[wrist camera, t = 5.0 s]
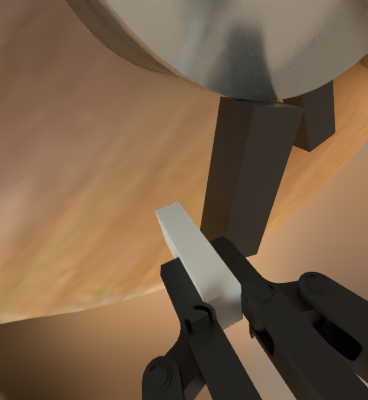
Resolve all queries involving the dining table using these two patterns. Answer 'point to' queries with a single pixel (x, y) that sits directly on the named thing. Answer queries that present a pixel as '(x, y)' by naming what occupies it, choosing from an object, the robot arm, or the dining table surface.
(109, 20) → the pressure cooker
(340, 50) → the cooker lid
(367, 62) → the ceramic vessel
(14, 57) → the dining table surface
